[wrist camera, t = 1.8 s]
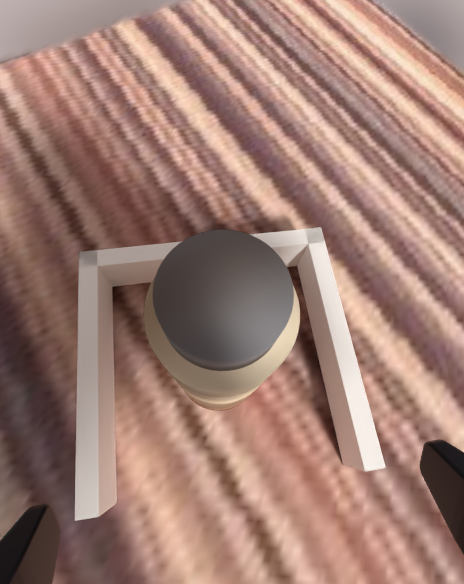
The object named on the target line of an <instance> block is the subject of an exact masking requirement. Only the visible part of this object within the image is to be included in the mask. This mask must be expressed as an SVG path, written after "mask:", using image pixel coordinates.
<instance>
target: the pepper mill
mask: <svg viewBox="0 0 464 584" xmlns="http://www.w3.org/2000/svg"><path fill="white" fill-rule="evenodd" d="M299 324H300V308H299V301H298V297H297V294H296V291H295V288H294V286H293V284H292V279H291V276H290V273H289V271H288V269H287V267H286V265H285V263H284V262H283V260H282V259H281V257H280V256H279V255H278V254H277V253H276V252H275V251H274V250H273V249H272V248H271V247H270V246H269V245H268V244H266V243H265V242H263V241H262V240H260V239H258V238H256V237H254V236H252V235H249V234H247V233H244V232H239V231H234V230H210V231H206V232H202V233H199V234H196V235H193V236H191V237H189V238H187V239H185V240H184V241H182V242H181V243H179V244H178V245H177V246H176V247H174V248H173V249H172V250H171V251H170V252H169V253H168V254H167V256H166V257H165V258H164V260H163V261H162V263H161V265H160V266H159V268H158V270H157V273H156V276H155V277H154V279H153V281H152V283H151V285H150V287H149V289H148V292H147V295H146V299H145V304H144V326H145V331H146V335H147V338H148V341H149V343H150V346H151V347H152V349H153V351H154V353H155V354H156V356H157V357H158V359H159V360H160V361H161V363H162V364H163V365H164V366H165V368H166V369H167V370H168V371H169V373H170V374H171V375H172V376H173V378H174V379H175V380H176V381H177V383H178V384H179V385H180V386H181V388H182V389H183V390H184V391H185V393H186V394H187V395H188V396H189V398H190V399H191V400H192V401H194V402H195V403H196V404H198V405H199V406H201V407H204V408H206V409H210V410H227V409H230V408H233V407H235V406H237V405H239V404H241V403H242V402H243V401H244V400H246V399H247V398H248V397H249V396H250V395H251V394H252V393H253V392H254V391H255V390H256V389H257V388H258V387H259V386H260V385H261V384H262V383H263V382H264V381H265V380H266V379H267V378H268V377H269V376H270V375H271V374H272V373H273V372H274V371H275V370H276V369H277V368H278V367H279V366H280V365H281V364H282V362H283V361H284V360H285V359H286V357H287V356H288V354H289V353H290V351H291V349H292V347H293V345H294V343H295V341H296V337H297V334H298V330H299Z"/></svg>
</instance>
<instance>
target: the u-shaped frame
mask: <svg viewBox="0 0 464 584" xmlns="http://www.w3.org/2000/svg"><path fill="white" fill-rule="evenodd" d="M251 235H252V236H254V237H256V238H258V239H260V240H262V241H263V242H265V243H266V244H268V245H269V246H270V247H271V248H272V249H273V250H274V251H275V252H276V253H277V254H278V255H279V256H280V257H281V259H282V260H283V262H284V263H285V265H286V267H293V266H297V267H298V272H299V276H300V280H301V285H302V289H303V293H304V298H305V302H306V306H307V311H308V315H309V320H310V324H311V328H312V333H313V337H314V341H315V346H316V350H317V354H318V359H319V363H320V367H321V372H322V376H323V380H324V385H325V389H326V393H327V398H328V402H329V406H330V411H331V415H332V419H333V424H334V428H335V432H336V437H337V441H338V445H339V450H340V454H341V458H342V463H343V465H344V466H348V467H351V468H355V469H359V470H362V471H370V470H376V469H382V468H386V467H385V463H384V460H383V456H382V452H381V449H380V445H379V441H378V437H377V434H376V430H375V426H374V423H373V419H372V415H371V411H370V408H369V404H368V400H367V397H366V393H365V389H364V385H363V382H362V378H361V374H360V371H359V367H358V363H357V359H356V356H355V352H354V348H353V344H352V341H351V337H350V333H349V330H348V326H347V322H346V318H345V315H344V311H343V307H342V304H341V300H340V296H339V292H338V289H337V285H336V281H335V278H334V274H333V270H332V266H331V263H330V259H329V255H328V252H327V248H326V244H325V240H324V237H323V233H322V229H321V227H320V228H310V229H300V230H290V231H280V232H270V233H260V234H251ZM179 243H181V242H172V243H162V244H152V245H142V246H132V247H123V248H113V249H103V250H93V251H83V252H79V287H78V350H77V414H76V477H75V521H77V520H83V519H89V518H94V517H99V516H100V515H102V514H103V513H104V512H106V511H107V510H108V509H110V508H111V507H112V506H114V505H115V504H116V503H117V482H116V436H115V389H114V343H113V296H112V287H114V286H123V285H132V284H141V283H150V282H152V281H153V279H154V277H155V276H156V273H157V270H158V268H159V266H160V265H161V263H162V261H163V260H164V258H165V257H166V256H167V254H168V253H169V252H170V251H171V250H172V249H173V248H174V247H176V246H177V245H178V244H179Z"/></svg>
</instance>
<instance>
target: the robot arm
mask: <svg viewBox="0 0 464 584" xmlns="http://www.w3.org/2000/svg"><path fill="white" fill-rule="evenodd" d="M420 470H421V474H422V476H423V478H424V480H425V482H426V484H427V486H428V488H429V490H430V492H431V494H432V496H433V498H434V500H435V502H436V504H437V506H438V508H439V510H440V512H441V514H442V516H443V518H444V520H445V522H446V524H447V526H448V528H449V530H450V531H451V533H452V535H453V537H454V539H455V541H456V543H457V544H458V546H459V548H460V549H461V551H462V553H463V554H464V452H462V451H461V450H459V449H457V448H456V447H454V446H452V445H451V444H449V443H447V442H446V441H443V440H433V441H428V442H426V443H425V444H424V447H423V451H422V456H421V460H420ZM59 541H60V526H59V523H58V521H57V518H56V516H55V513H54V511H53V509H52V507H51V505H49V504H43V505H37V506H32V507H30V508H29V509H28V510H27V511H26V512H25V513H24V514H23V515H22V516H21V517H20V519H19V520H18V521H17V522H16V523H15V524H14V526H13V527H12V528H11V529H10V530H9V531H8V533H7V534H6V535H5V536H4V537H3V538H2V540H1V541H0V584H52V582H53V576H54V570H55V564H56V558H57V552H58V547H59Z"/></svg>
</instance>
